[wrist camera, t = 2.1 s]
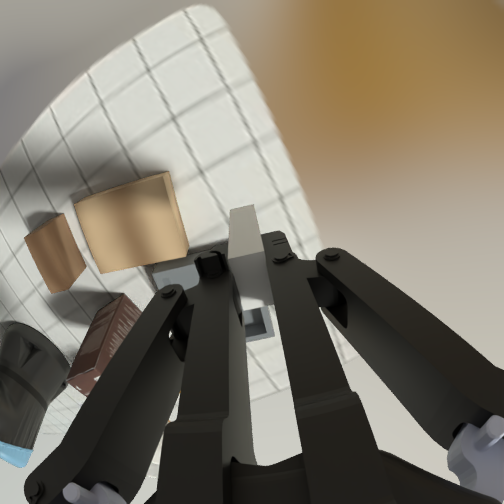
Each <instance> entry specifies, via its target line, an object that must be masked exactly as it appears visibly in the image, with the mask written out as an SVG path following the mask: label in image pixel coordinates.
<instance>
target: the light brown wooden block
mask: <svg viewBox="0 0 504 504" xmlns="http://www.w3.org/2000/svg"><path fill="white" fill-rule="evenodd" d="M74 207H75V210H76V213H77V216H78V218H79V221H80V224H81V227H82V230H83V232H84V235H85V238H86V240H87V243H88V245H89V248H90V250H91V253H92V255H93V257H94V260H95V262H96V264H97V267H98V269H99V271H100V274H103V273H108V272H113V271H118V270H123V269H127V268H132V267H137V266H142V265H147V264H152V263H157V262H162V261H167V260H172V259H177V258H182V257H186V255H187V251H188V248H189V243H188V239H187V236H186V232H185V229H184V225H183V222H182V218H181V215H180V211H179V207H178V204H177V200H176V196H175V192H174V189H173V185H172V181H171V177H170V173H169V171H168V172H164V173H161V174H157V175H153V176H150V177H146V178H143V179H140V180H136V181H133V182H130V183H126V184H123V185H120V186H117V187H114V188H111V189H108V190H105V191H102V192H99V193H96V194H93V195H90V196H88V197H85V198H83V199H82V200H80V201H79V202H77V203H75V204H74Z"/></svg>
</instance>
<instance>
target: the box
mask: <svg viewBox="0 0 504 504" xmlns="http://www.w3.org/2000/svg"><path fill="white" fill-rule="evenodd" d="M141 314H142V312H141V311H140V310H139V309H138V307H137V306H136V305H135V304H134V303H133V302H132V301H131V300H130V299H129V298H128V297H127V296H126V295H125V294H123V295H122V296H120V297H119V298H117V299H115V300H114V301H112V302H111V303H109V304H108V305H106V306H105V307H103V308H102V309H100V310H99V311H98V312H97V313H96V315H95V317H94V319H93V321H92V323H91V325H90V327H89V329H88V332H87V334H86V336H85V338H84V340H83V342H82V344H81V346H80V349H79V351H78V353H77V355H76V357H75V360H74V362H73V364H72V367H71V369H70V372H69V374H68V376H67V379H66V381H67V382H68V383H69V384H70V385H71V386H73V387H74V388H75V389H77V390H78V391H79V392H81V393H82V394H83V395H85V396H86V397H88V395H89V393H90V392H91V390H92V388H93V387H94V385H95V384H96V382H97V380H98V379H99V377H100V376H101V374H102V372H103V371H104V369H105V368H106V366H107V365H108V363H109V361H110V360H111V358H112V357H113V355H114V354H115V352H116V351H117V349H118V348H119V346H120V345H121V343H122V342H123V340H124V339H125V337H126V336H127V334H128V333H129V331H130V330H131V328H132V327H133V325H134V324H135V322H136V321H137V320H138V318H139V317H140V315H141Z"/></svg>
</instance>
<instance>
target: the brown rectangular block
mask: <svg viewBox="0 0 504 504" xmlns="http://www.w3.org/2000/svg"><path fill="white" fill-rule="evenodd" d="M24 239H25V242H26V244H27V246H28V248H29V251H30V253H31V255H32V257H33V259H34V261H35V263H36V266H37V268H38V270H39V272H40V274H41V275H42V277H43V279H44V281H45V283H46V285H47V287H48V289H49V290H50V292H51V294H52V293H56V292H60V291H64V290H68V289H69V288H70V287H71V286H72V284H73V283H74V282H75V281H76V279H77V278H78V277H79V276H80V274H81V273H82V272H83V271H84V269H85V268H86V267H87V266H86V264H85V262H84V260H83V258H82V255H81V253H80V251H79V249H78V247H77V244H76V242H75V240H74V237H73V235H72V233H71V230H70V228H69V225H68V223H67V220H66V218H65V215H64V214H61V215H59V216H57V217H55V218H52V219H50V220H48V221H46V222H45V223H44V224H42V225H41V226H39V227H38V228H37V229H35V230H34V231H32V232H31V233H30V234H28V235H27V236H26V237H24Z"/></svg>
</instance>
